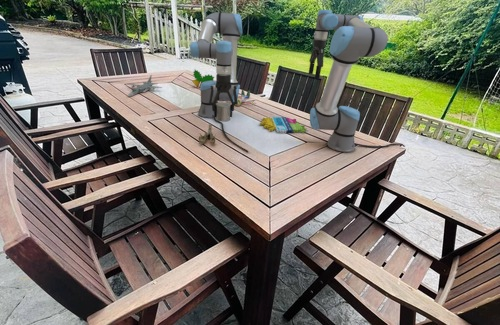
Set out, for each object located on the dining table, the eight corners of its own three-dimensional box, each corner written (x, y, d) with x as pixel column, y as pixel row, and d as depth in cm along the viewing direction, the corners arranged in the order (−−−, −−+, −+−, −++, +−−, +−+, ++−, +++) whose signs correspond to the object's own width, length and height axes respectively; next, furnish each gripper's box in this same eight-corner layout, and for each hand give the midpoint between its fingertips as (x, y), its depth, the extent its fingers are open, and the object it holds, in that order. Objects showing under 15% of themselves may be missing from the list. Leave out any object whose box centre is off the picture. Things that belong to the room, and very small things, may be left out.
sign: (308, 131, 166) (261, 129, 163) (307, 133, 167) (261, 132, 164) (299, 117, 188) (257, 116, 186) (298, 119, 189) (257, 118, 186)
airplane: (122, 86, 237) (119, 75, 232) (157, 84, 250) (156, 74, 245) (126, 99, 209) (123, 86, 204) (166, 96, 222) (165, 84, 217)
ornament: (209, 91, 261) (213, 76, 259) (211, 91, 253) (215, 75, 251) (188, 84, 252) (192, 69, 250) (190, 84, 245) (194, 68, 243)
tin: (226, 116, 151) (226, 101, 147) (232, 120, 145) (233, 105, 141) (213, 117, 147) (213, 102, 143) (219, 122, 141) (219, 107, 137)
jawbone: (218, 127, 153) (216, 117, 144) (216, 150, 146) (215, 141, 137) (202, 127, 153) (199, 117, 144) (200, 150, 146) (197, 140, 137)
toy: (261, 91, 228) (254, 99, 202) (261, 99, 231) (253, 108, 205) (231, 87, 233) (220, 95, 207) (230, 95, 236) (219, 104, 210)
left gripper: (203, 75, 128) (204, 119, 139) (245, 76, 134) (242, 118, 144) (202, 72, 135) (203, 114, 146) (241, 73, 140) (240, 114, 151)
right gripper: (308, 37, 167) (302, 72, 177) (320, 40, 145) (313, 80, 155) (319, 38, 167) (313, 72, 178) (333, 41, 146) (325, 80, 156)
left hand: (223, 116), depth 145 cm, fingers closed on tin, 8 cm apart
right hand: (313, 76), depth 167 cm, fingers open, 13 cm apart
